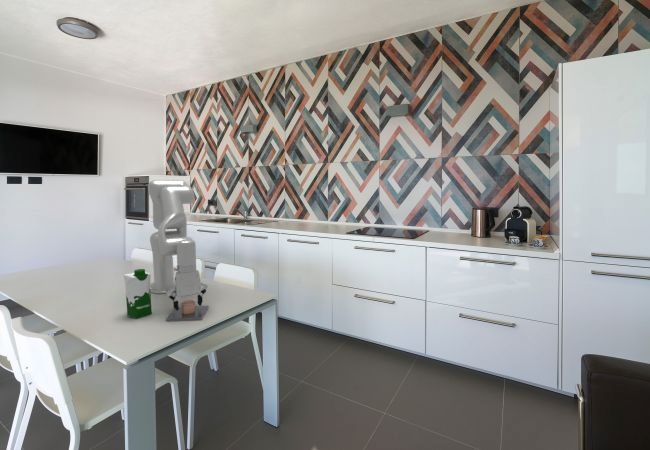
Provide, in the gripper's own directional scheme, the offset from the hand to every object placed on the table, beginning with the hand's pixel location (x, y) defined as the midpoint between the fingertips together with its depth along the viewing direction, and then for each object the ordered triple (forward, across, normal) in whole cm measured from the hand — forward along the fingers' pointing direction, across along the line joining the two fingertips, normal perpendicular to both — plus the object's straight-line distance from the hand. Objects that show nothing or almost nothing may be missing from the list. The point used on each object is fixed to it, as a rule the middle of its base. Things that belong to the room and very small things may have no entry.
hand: (188, 307), depth 145 cm
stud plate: (+3, 0, 0) cm, 3 cm away
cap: (+2, 0, 0) cm, 2 cm away
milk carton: (+4, -17, +13) cm, 21 cm away
